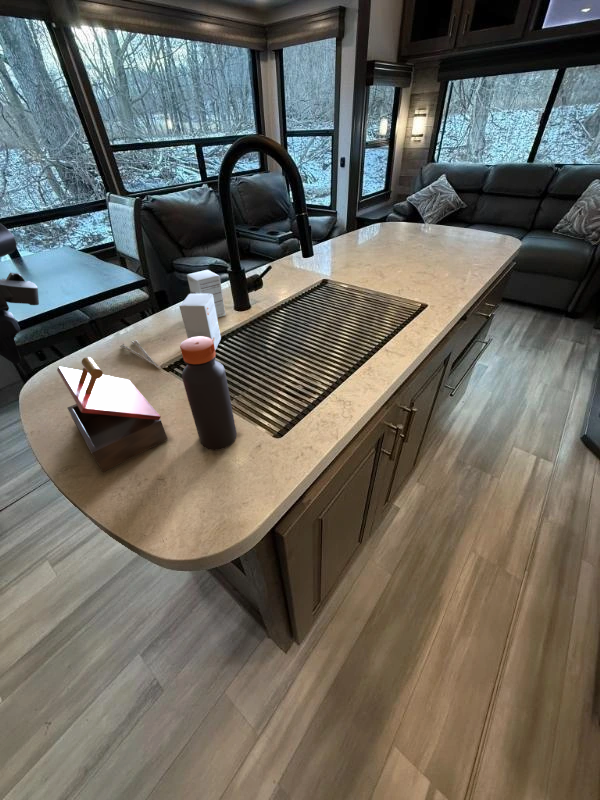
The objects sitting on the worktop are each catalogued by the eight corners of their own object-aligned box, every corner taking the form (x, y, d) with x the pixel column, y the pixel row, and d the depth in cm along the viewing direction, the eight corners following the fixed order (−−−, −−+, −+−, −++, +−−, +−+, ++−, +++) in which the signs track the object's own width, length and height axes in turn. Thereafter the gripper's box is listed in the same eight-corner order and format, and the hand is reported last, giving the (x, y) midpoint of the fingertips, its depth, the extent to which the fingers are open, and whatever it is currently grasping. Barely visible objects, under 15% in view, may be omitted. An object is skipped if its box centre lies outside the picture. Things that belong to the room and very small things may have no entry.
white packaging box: (194, 314, 106) (185, 274, 98) (215, 308, 109) (208, 268, 102) (205, 322, 101) (196, 280, 93) (226, 315, 105) (220, 274, 97)
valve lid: (81, 412, 49) (93, 380, 48) (56, 370, 58) (66, 342, 57) (159, 420, 59) (170, 393, 58) (127, 382, 68) (137, 359, 67)
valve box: (103, 472, 56) (91, 453, 53) (77, 426, 65) (66, 407, 62) (168, 439, 62) (161, 420, 59) (136, 401, 71) (129, 382, 68)
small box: (199, 338, 93) (188, 293, 85) (221, 338, 93) (213, 293, 85) (190, 353, 87) (178, 305, 79) (214, 353, 86) (204, 305, 78)
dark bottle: (200, 454, 59) (171, 357, 46) (200, 429, 64) (174, 335, 52) (238, 447, 60) (220, 351, 48) (235, 423, 65) (218, 330, 53)
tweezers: (119, 348, 89) (117, 342, 88) (136, 342, 92) (134, 336, 90) (152, 377, 80) (150, 370, 79) (170, 369, 83) (168, 362, 82)
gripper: (30, 273, 53) (73, 357, 63) (11, 250, 64) (50, 325, 73) (-62, 290, 47) (1, 380, 57) (-64, 262, 58) (-11, 342, 68)
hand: (14, 353), depth 64 cm, fingers open, 9 cm apart
